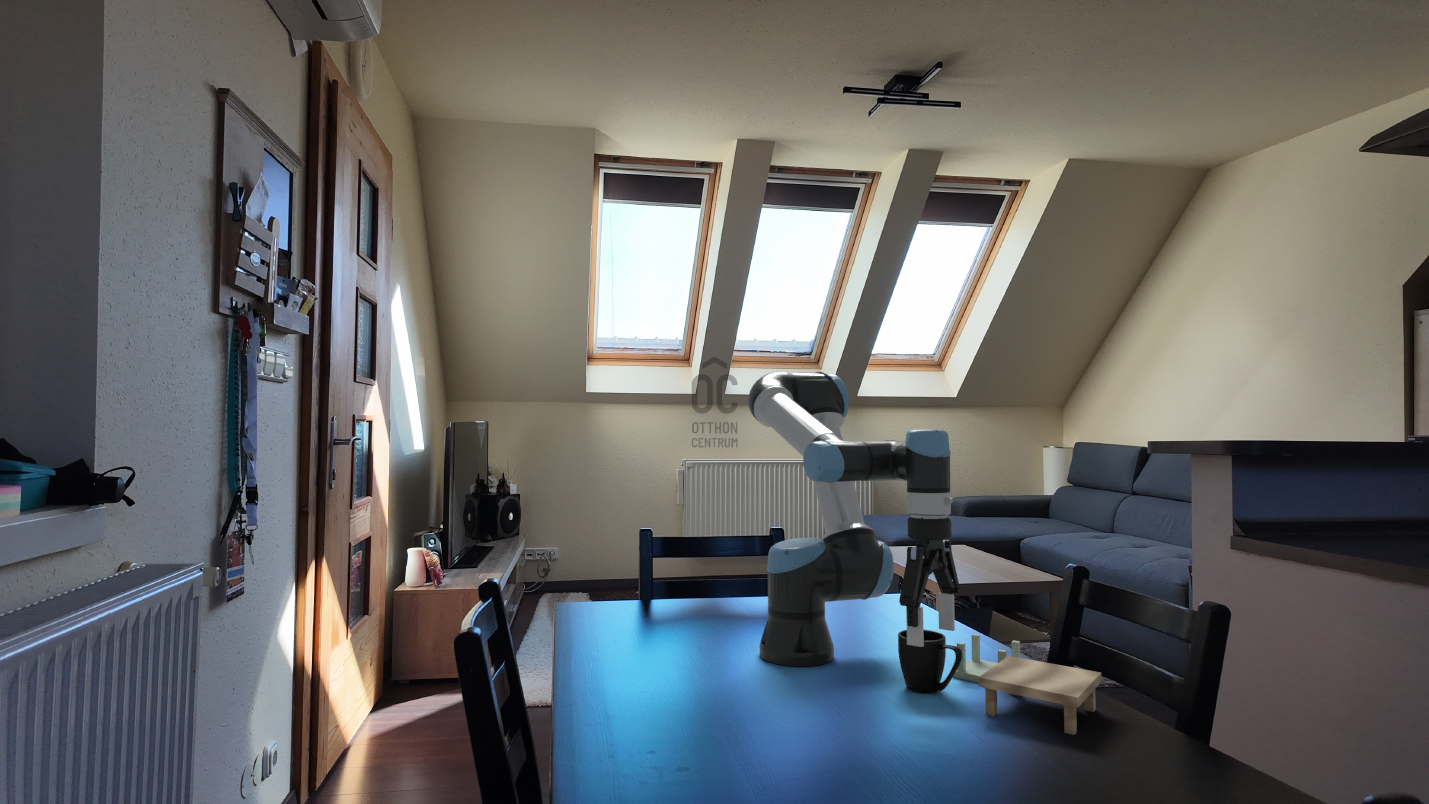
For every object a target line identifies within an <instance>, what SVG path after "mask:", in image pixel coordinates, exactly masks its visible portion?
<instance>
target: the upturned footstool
mask: <svg viewBox="0 0 1429 804" xmlns="http://www.w3.org/2000/svg"><path fill="white" fill-rule="evenodd" d="M956 647H958V648H960V649H961V651H962V660H961V663H960V665H959V667H958V669H957V671H956V672H955V674H954V676H953V677H952V678H954V679H955V678H956V679H959V680H965V681H969V682H974V683H978V684H979V679H978V677H979V676H981V675H982V674H984V673H985V672H986V671H988V670H989V669H991V668H992V667H994V666H995V665H996V664H998V663H999V662H1001V661H1002V660H1003V659H1005V658H1006V657H1008V652H1007V651H1008V650H1007V649H1006V650H1005V649H998V650H997V662H994V661H989V660H984V659H981V635H980V634H979V633H972V634H971V658H970V659H969V660H967V661H966V659H967V656H966V642H961V641H959V642H957V643H956ZM1011 656H1013V657H1018V658H1021V641H1020V640H1012V641H1011Z"/></svg>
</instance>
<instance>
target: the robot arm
mask: <svg viewBox="0 0 1429 804" xmlns="http://www.w3.org/2000/svg"><path fill="white" fill-rule="evenodd" d="M849 397H850V396H849V392H848V388H847V386H846V385H845V382H844V381H843V379H842V378H841V377H840V376H838V375H836V374H833V373H831V372H829V373H828V372H823V371H816V372H802V371H774V372H773V371H772V372H769V373H767V374H765V375H763V376H761V377H759V379H757V380H756V382H754V383H753V385H752V386H751V388H750V390H749V394H748V400H747V404H748V408H749V411H750V413H751V415H752V416H753V417H754V419H755V420H756V421H757V422H759V424H761V425H762V426H765V427H767V428H771V429H773V430H774V431H775V432H776V433H777V434H778V435H779V436H780V437H782V439H783V440H785V441H786V442H787V443H788V444H789V445H790V446H791V447H792V448H794V449H795V450H796V452H798V453H799V454H800V455H801V456H802V459H803V469H804V471H805V473H806V476H807V477H808V479H810V480H811V481H812V482H813V483H814V488H815V493H816V497H817V501H818V506H819V509H820V513H821V517H822V523H823V526H824V531H825V533H824V534H823V537H822V538H819V537H804V538H803V537H799V538H798V537H796V538H791V539H786V540H785V539H784V540H781V541H779V542H776V543H774V544H773V545H772V546H771V547H770V548H769V551H768V557H767V566H766V570H767V619H766V623H765V626H764V630H763V632H762V635H761V639H760V641H759V656H760V658H761V659H762V660H764V661H766V662H769V663H772V664H776V665H781V666H788V667H813V666H819V665H824V664H827V663H829V662H831V661H833V660H834V658H835V645H834V642H833V639H832V636H831V633H830V630H829V626H828V624H827V620H826V603H827V602H828V603H829V602H839V601H840V602H842V601H853V600H863V601H864V600H865V601H866V600H868V599H873V598H879V597H881V596H883V595H884V594H885V593H887V592H888V590H889V588H890V587H891V585H892V580H893V577H894V571H895V569H894V566H895V565H894V564H895V563H894V557H893V552H892V550H891V548H890V546H889V545H887V543H886V542H884V541H881V540H877V538H876V534H875V530H874V528H872V527H870V526H868V525H867V524H865V519H864V517H863V513H862V509H861V504H860V502H859V497H858V493H857V490H856V485H855V482H869V481H870V482H873V481H876V482H879V481H880V482H881V481H882V482H883V481H903V482H906V513H907V514H908V515H910V516H908V518H907V536H908V538H910V539H913V540H915V541H916V543H915V547H914V546H908V547H907V548H906V562H905V568H904V574H903V578H902V584H901V589H900V595H899V605H900V606H901V607H905V609H906V610H905V612H906V613H905V614H906V616H905V617H906V619H905V620H906V630H907V645H913V646H919V647H923V646H924V630H925V629H924V607H923V606H921V605H922V601H923V597H924V594H925V590H926V587H927V583H928V580H929V578H930V577H929V576H930V575H931V574H933V575H934V578H935V580H936V583H937V585H938V588H939V590H940V592H938V593H937V599H938V600H937V601H938V602H937V603H938V604H937V605H938V630H942V631H943V630H944V631H951V632H954V631H956V627H955V626H956V625H955V618H956V617H955V594H957V595H958V594H959V593H960V583H959V578H958V573H957V569H956V564H955V560H954V556H953V552H952V550H953V549H952V541H951V538H952V519H951V518H950V517H949V516H950V515H951V514H952V512H951V511H952V509H951V507H952V506H951V505H952V504H953V502H954V500H953V498H952V497H951V454H952V453H951V450H950V440H949V439H950V437H949V433H948V432H947V431H946V430H945V429H911V430H908V431H907V432H906V433H905V440H844V439H843V436H842V431H841V427H842V426H843V425H844V422H845V418H846V416H847V414H848V411H849V408H850V405H849V401H850V398H849Z"/></svg>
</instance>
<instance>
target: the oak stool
mask: <svg viewBox="0 0 1429 804" xmlns="http://www.w3.org/2000/svg"><path fill="white" fill-rule="evenodd" d="M997 663H998V662H997ZM978 679H979V683H978V687H980V688H982V689H983V688H984V689H985V691H984V692H985V693H984V694H985V695H984V697H985V698H984V699H985V700H984V701H985V715H987V716H992V717H995V716H997V715H998V692H1003V693H1007V694H1009V695H1012V696H1016V697H1019V696H1021V697H1026V698H1030V699H1031V698H1032V699H1036V700H1041V701H1045V702H1050V703H1055V704H1059V705H1063V718H1064V719H1063V720H1064V722H1063V723H1064V727H1063V728H1064V734H1067V735H1072V736H1076V734H1077V732H1078V730H1077V729H1078V728H1077V727H1078V725H1077V724H1078V723H1077V708H1080V707H1081V706H1082V704H1083V709H1084V711H1087V712H1091V713H1095V711H1096V688H1098V687H1099V686H1100V684H1101V683H1102V672H1100V671H1099V672H1098V671H1095V670H1094V671H1093V670H1088V669H1083V668H1077V667H1072V666H1068V665H1067V666H1066V665H1061V664H1055V663H1050V662H1044V661H1039V660H1034V659H1033V660H1032V659H1028V658H1022V657H1020V658H1018V657H1013V656H1012V655H1007V657H1006V658H1005V659H1003V660H1002V661H1001V662H999V663H998V664H996V665H995V666H994V667H992V668H991V669H989V670H988V671H986V672H985V673H984V674H982V675H981V676H979V677H978Z"/></svg>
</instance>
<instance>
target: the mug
mask: <svg viewBox="0 0 1429 804" xmlns="http://www.w3.org/2000/svg"><path fill="white" fill-rule="evenodd" d="M946 642H947V639H946V635H945V634H944V633H941V632H938V631H936V630H932V629H931V630H929V629H924V646H923V647H919V646H913V645H907V629H904V630H901V631H899V632H898V633H897V647H898V648H897V649H898V651H897V652H898V658H899V665H900V669H901V673H902V677H903V679H904V683H905V687H906V689H907V690H908V691H910V692H911V693H915V694H921V695H932V694H936V693H937V692H942V691H944V690H945V689H946V688H947V687H948V685H949V684H950V683H951V680H952V679H953V678H954V677H953V676H954V674H955V672H956V671H957V669H958V667H959V665H960V663H961V660H962V651H961V649H960V648H958V647H957V645H956V646H955V645H951V644H947V643H946ZM946 649H948V650H951V651H953V653H954V654H955V655H954V656H955V660H954V662H953V665H952V667H951V669H950V672H949V673H948V675H947V676H946V678H945V679H944V680H943V681H942V677H943V673H944V669H945V663H946V655H947V654H946V653H947V650H946Z"/></svg>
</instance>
